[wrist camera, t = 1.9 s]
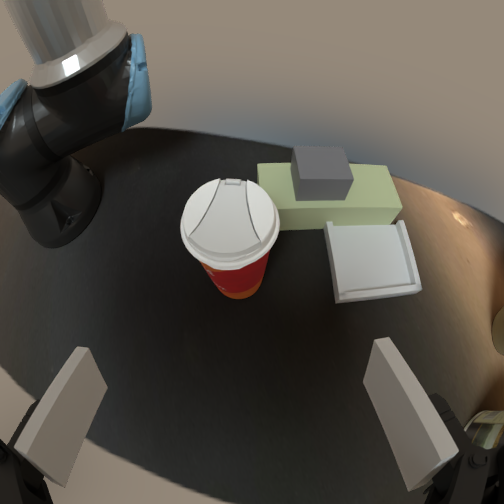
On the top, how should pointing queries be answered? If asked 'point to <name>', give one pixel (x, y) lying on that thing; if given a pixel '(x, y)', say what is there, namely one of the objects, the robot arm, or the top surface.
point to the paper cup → (231, 233)
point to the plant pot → (498, 331)
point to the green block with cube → (346, 220)
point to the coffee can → (486, 429)
